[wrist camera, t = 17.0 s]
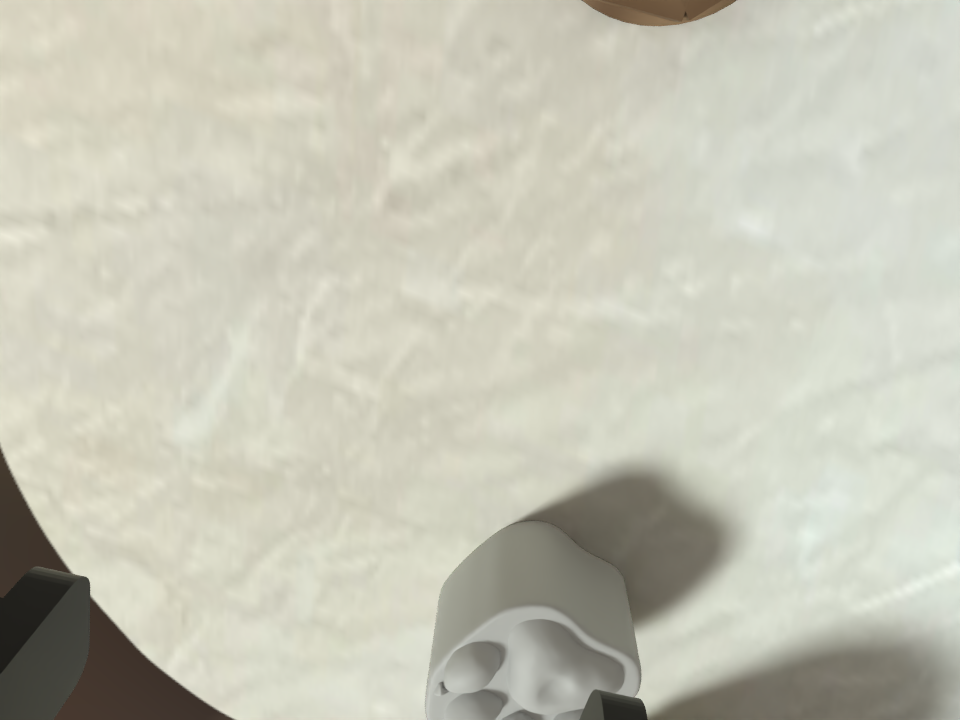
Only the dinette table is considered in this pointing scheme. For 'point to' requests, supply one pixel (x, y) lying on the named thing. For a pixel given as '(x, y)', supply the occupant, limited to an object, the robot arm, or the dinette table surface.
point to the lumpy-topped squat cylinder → (530, 631)
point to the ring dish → (658, 10)
